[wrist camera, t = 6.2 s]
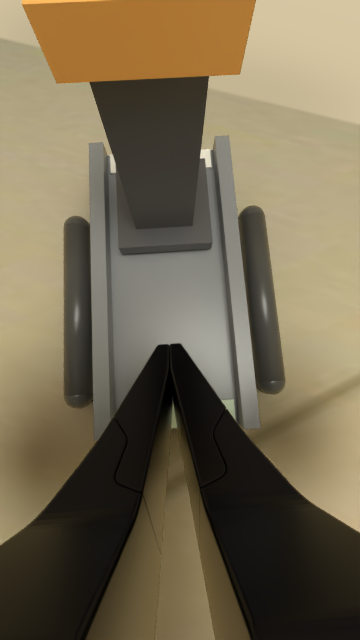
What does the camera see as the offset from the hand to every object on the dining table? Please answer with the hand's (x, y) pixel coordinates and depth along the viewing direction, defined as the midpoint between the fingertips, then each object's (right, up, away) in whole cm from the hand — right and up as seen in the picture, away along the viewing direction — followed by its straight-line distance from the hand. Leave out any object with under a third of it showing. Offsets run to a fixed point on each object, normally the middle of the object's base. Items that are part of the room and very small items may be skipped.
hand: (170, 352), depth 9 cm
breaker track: (0, +3, +7) cm, 8 cm away
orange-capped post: (-1, +7, +6) cm, 9 cm away
